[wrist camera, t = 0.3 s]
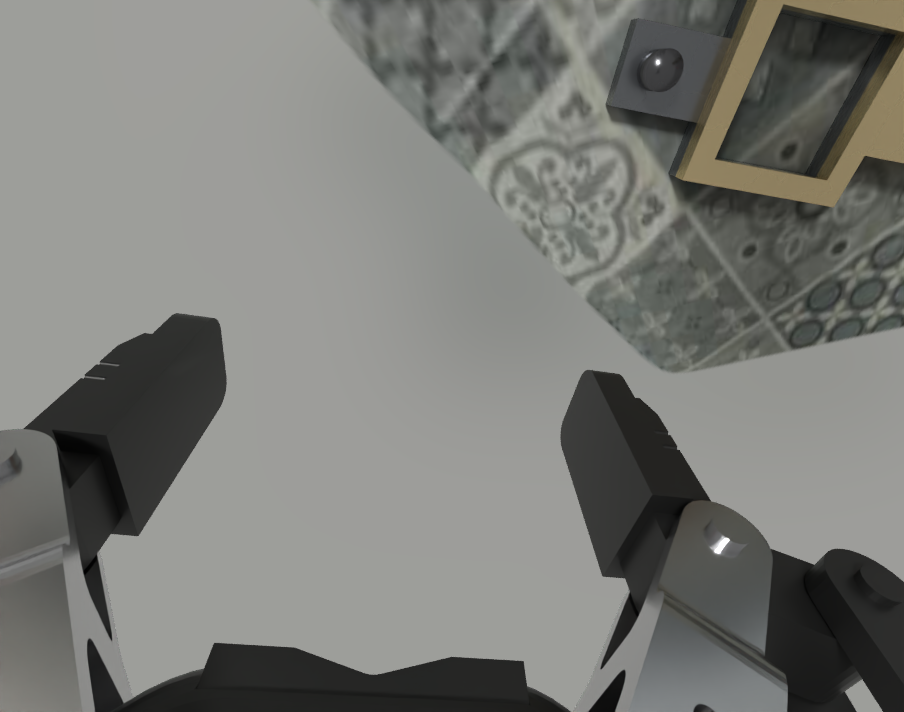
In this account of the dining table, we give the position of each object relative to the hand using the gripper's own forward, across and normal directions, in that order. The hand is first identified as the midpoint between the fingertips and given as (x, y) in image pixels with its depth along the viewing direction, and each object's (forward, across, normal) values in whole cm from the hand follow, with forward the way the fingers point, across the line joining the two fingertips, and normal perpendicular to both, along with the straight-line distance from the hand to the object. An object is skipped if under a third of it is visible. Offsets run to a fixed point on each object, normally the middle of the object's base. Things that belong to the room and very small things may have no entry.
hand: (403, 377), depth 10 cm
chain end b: (+29, -25, -8) cm, 39 cm away
